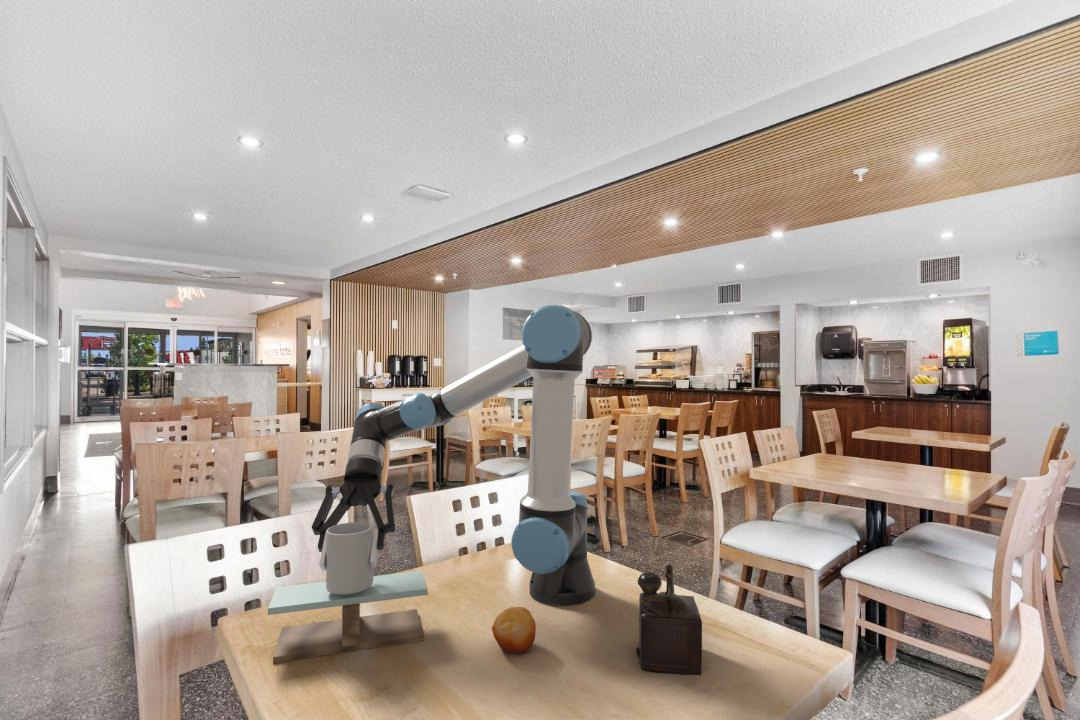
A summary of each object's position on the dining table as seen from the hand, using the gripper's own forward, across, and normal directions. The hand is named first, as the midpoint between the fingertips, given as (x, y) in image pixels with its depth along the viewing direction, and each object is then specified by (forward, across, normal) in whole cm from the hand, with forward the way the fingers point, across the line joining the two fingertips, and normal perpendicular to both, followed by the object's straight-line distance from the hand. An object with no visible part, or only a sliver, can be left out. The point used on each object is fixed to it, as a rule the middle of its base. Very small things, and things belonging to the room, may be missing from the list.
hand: (347, 565), depth 104 cm
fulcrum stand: (+8, 0, -13) cm, 15 cm away
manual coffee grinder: (+21, -57, 0) cm, 61 cm away
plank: (+2, 0, -7) cm, 7 cm away
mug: (+1, -1, -6) cm, 6 cm away
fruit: (+14, -31, -7) cm, 35 cm away
